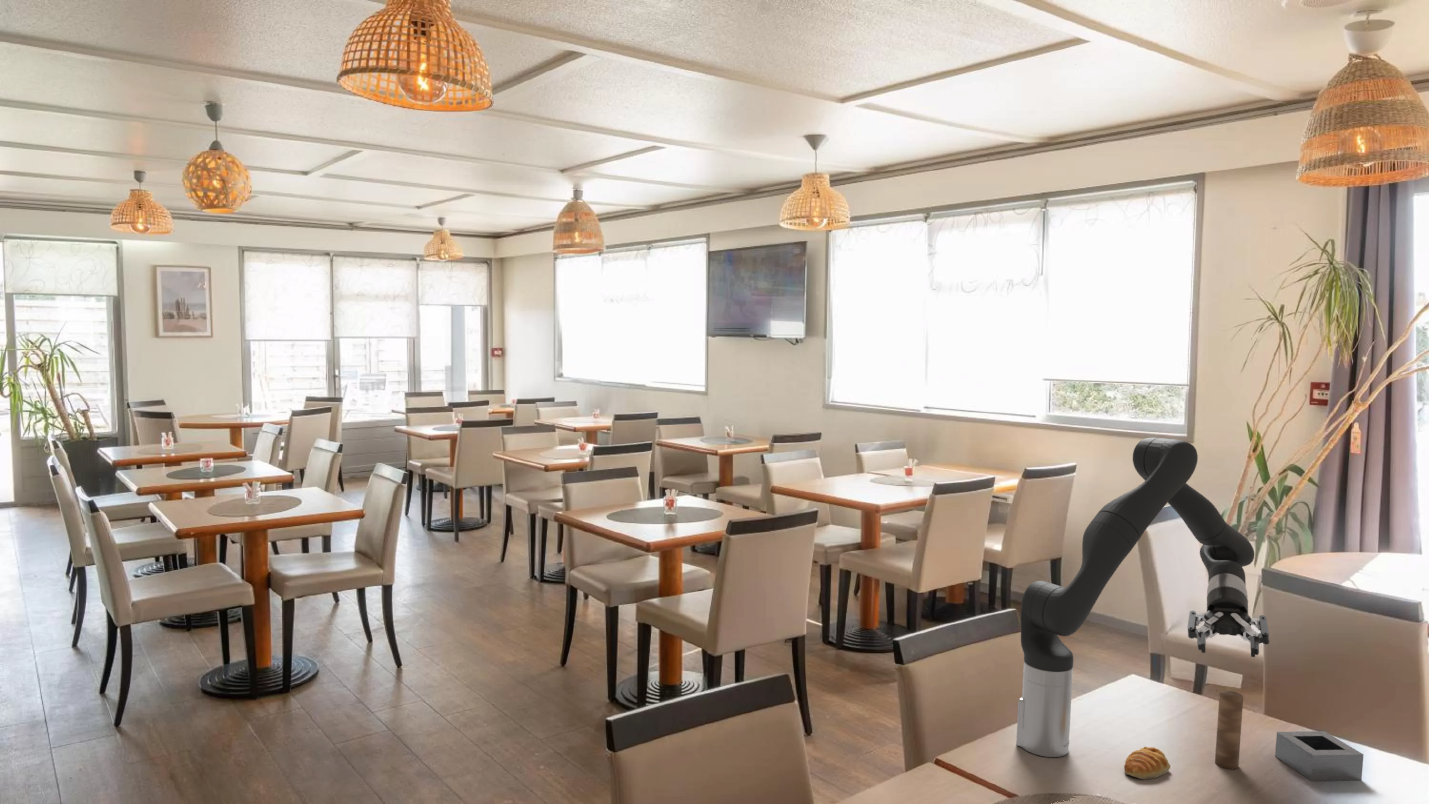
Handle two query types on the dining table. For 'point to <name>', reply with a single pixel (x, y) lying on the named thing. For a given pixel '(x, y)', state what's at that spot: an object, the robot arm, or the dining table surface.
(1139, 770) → the pastry
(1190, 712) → the dining table surface
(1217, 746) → the peg
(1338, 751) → the socket block
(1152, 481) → the robot arm
